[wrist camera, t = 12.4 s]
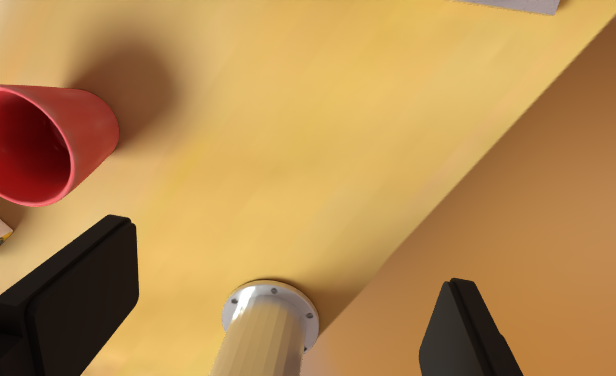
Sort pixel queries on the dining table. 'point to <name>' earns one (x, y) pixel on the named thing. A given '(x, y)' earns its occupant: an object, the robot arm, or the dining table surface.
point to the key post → (518, 5)
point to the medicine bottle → (4, 231)
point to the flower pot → (51, 141)
